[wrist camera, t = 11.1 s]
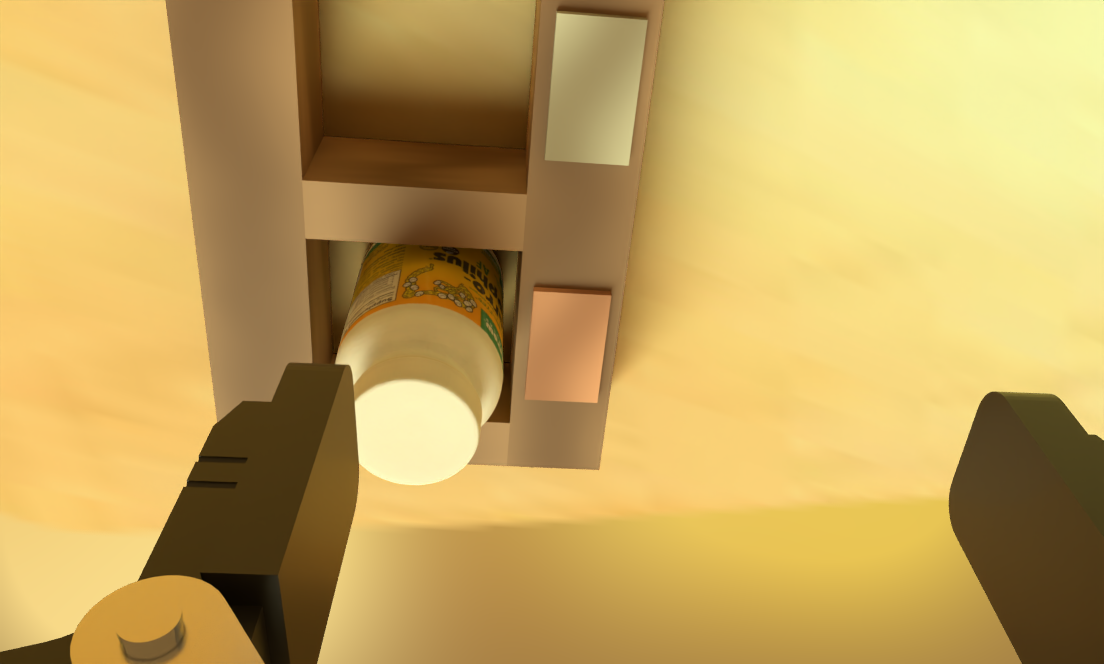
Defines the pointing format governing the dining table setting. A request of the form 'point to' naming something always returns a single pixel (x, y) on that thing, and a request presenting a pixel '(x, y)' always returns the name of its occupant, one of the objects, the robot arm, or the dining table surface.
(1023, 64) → the dining table surface
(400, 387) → the supplement bottle
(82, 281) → the dining table surface
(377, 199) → the socket block
